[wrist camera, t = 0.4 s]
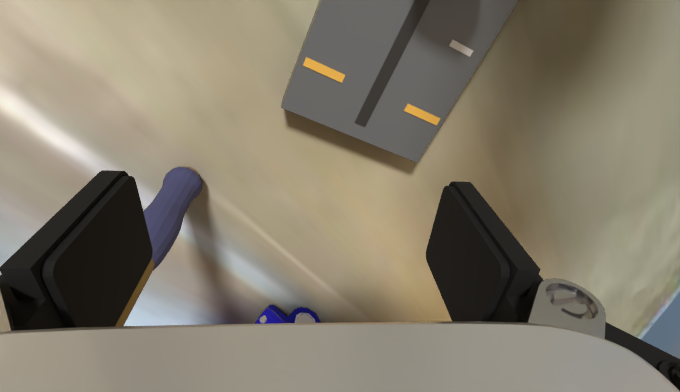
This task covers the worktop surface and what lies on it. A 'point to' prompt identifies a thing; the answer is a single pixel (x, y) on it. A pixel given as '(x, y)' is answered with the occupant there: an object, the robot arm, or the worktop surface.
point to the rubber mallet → (165, 221)
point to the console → (391, 66)
